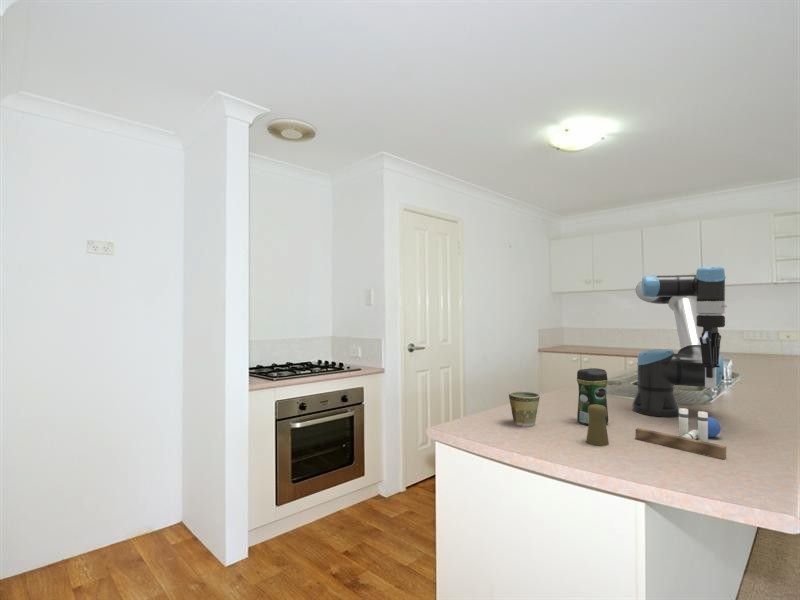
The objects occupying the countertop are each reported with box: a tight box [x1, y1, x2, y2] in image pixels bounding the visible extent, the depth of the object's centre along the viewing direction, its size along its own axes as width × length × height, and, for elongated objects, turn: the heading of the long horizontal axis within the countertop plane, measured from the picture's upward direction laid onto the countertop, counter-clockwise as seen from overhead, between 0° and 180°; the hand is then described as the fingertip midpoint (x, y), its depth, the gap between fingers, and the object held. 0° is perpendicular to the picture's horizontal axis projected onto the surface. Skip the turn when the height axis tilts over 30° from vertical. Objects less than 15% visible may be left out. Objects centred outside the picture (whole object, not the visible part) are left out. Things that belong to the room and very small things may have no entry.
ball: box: [696, 416, 722, 438], centre depth 133 cm, size 6×6×6 cm
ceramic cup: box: [508, 391, 541, 428], centre depth 148 cm, size 13×10×10 cm
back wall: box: [635, 427, 727, 460], centre depth 123 cm, size 22×2×3 cm, turn 39°
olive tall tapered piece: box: [586, 404, 610, 447], centre depth 127 cm, size 6×6×11 cm
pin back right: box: [697, 410, 709, 443], centre depth 128 cm, size 2×2×9 cm
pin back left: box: [678, 407, 689, 437], centre depth 132 cm, size 2×2×9 cm
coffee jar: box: [576, 367, 609, 426], centre depth 149 cm, size 10×8×19 cm
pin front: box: [682, 429, 698, 440], centre depth 129 cm, size 2×2×9 cm
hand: (710, 387), depth 141 cm, fingers closed
